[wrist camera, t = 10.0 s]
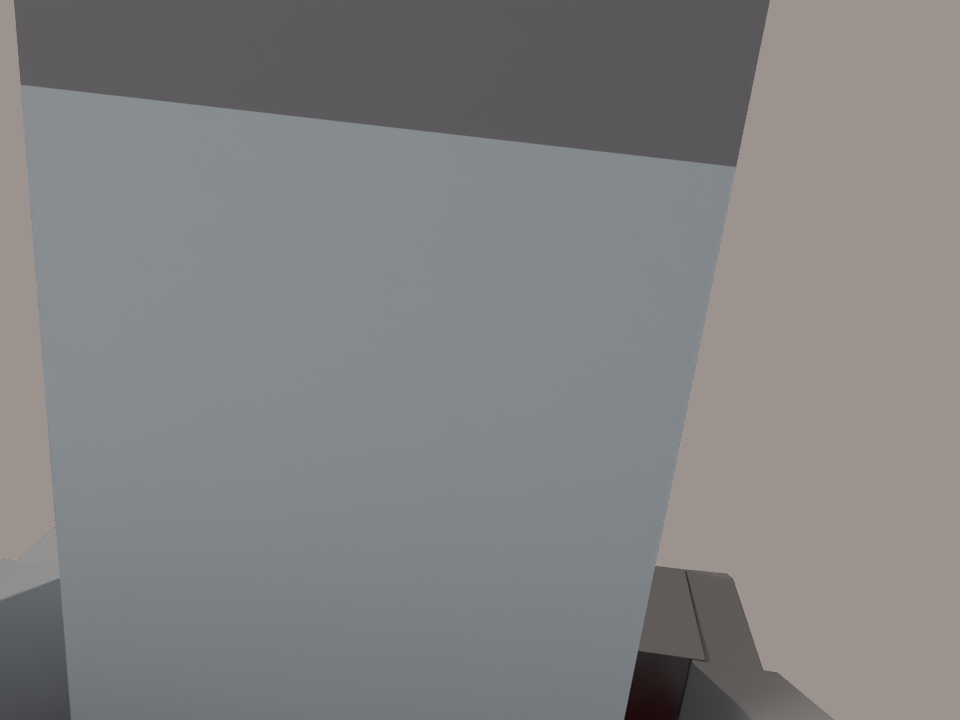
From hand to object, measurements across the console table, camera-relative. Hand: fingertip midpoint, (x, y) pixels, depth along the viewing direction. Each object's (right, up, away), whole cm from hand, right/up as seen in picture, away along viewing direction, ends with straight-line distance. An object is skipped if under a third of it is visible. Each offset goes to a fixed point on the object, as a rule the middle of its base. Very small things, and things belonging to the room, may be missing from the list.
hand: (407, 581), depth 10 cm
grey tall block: (-1, -7, +2) cm, 8 cm away
